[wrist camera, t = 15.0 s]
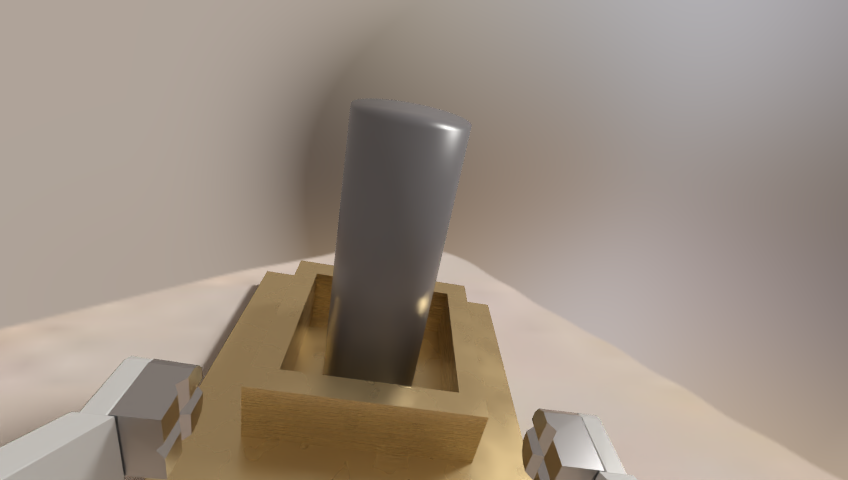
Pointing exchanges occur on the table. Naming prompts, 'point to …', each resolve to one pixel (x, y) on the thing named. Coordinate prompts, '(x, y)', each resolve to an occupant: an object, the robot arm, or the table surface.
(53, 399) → the table surface
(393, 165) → the grey cylinder
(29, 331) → the table surface
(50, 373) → the table surface
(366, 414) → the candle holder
